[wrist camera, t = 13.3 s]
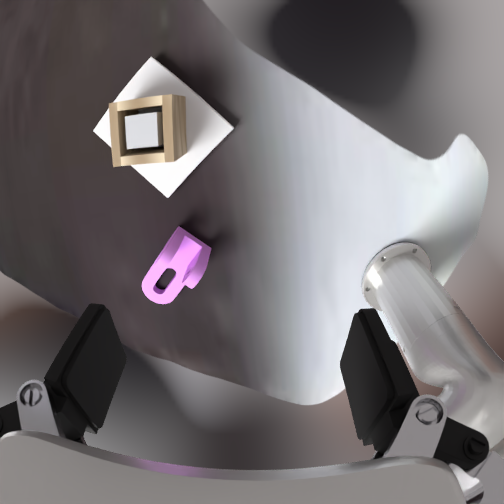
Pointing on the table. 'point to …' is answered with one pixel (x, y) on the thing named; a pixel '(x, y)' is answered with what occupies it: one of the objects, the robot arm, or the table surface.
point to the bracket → (177, 266)
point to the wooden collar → (172, 130)
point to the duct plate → (195, 123)
